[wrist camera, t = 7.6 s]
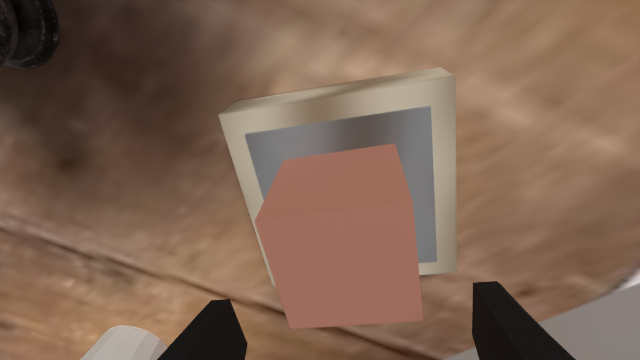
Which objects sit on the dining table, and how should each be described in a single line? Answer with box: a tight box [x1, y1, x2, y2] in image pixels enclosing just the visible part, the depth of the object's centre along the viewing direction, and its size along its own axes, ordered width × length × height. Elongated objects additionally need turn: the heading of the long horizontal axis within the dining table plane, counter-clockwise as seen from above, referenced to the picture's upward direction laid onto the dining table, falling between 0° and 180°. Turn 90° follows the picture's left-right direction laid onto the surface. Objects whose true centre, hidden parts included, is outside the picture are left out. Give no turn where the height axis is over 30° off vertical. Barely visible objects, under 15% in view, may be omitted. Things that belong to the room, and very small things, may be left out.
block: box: [254, 143, 424, 329], centre depth 14 cm, size 5×5×5 cm
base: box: [218, 67, 457, 286], centre depth 17 cm, size 10×10×3 cm
